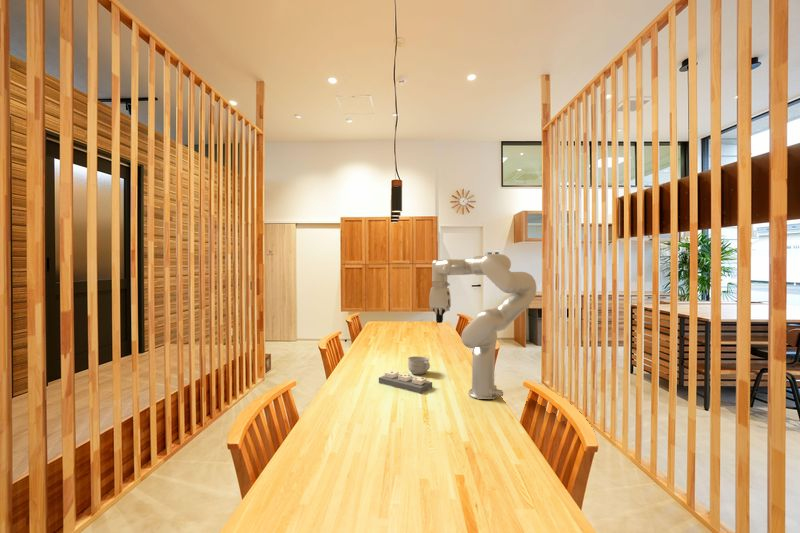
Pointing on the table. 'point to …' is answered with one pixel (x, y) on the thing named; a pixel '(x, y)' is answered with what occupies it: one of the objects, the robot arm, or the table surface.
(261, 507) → the table surface
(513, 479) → the table surface
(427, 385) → the button panel
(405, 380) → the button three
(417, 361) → the teacup
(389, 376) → the button one
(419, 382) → the button two
